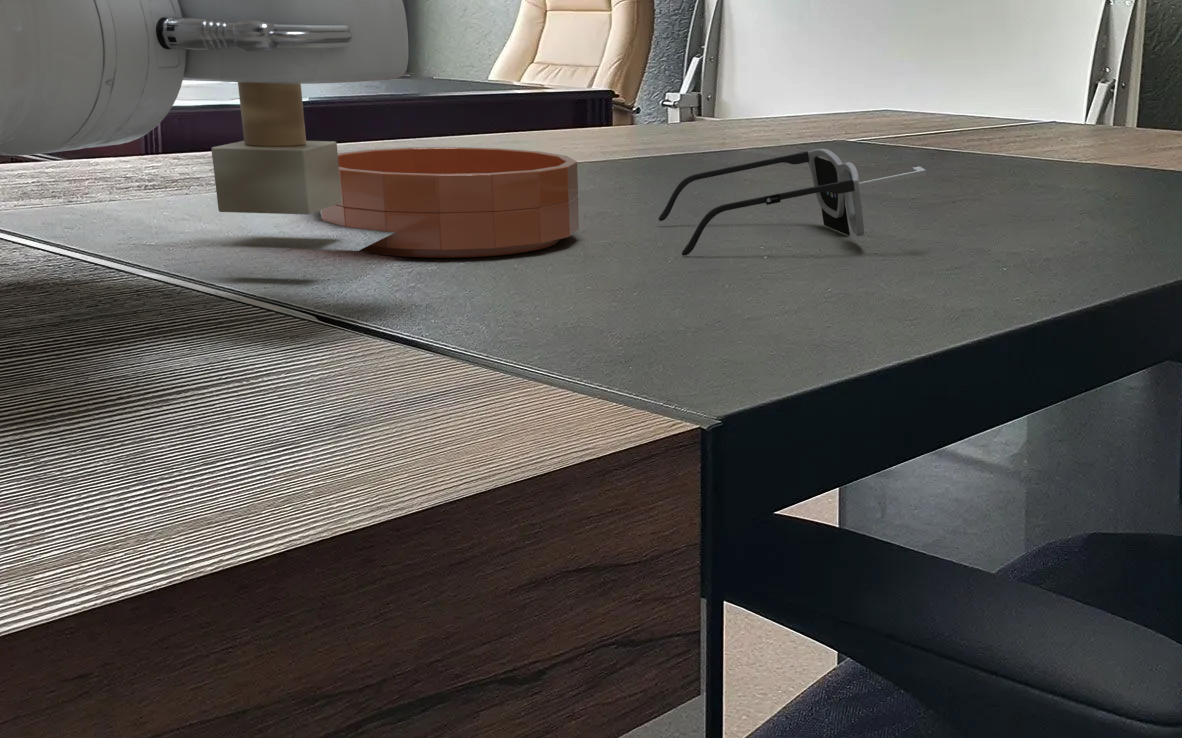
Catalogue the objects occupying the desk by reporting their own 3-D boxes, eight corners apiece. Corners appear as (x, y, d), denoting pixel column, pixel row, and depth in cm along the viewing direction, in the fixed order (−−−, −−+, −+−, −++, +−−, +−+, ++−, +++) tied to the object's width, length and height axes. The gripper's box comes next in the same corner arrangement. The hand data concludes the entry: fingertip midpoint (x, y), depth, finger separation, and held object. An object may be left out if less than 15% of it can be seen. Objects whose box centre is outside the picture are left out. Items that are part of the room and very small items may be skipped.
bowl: (283, 256, 74) (274, 169, 72) (372, 217, 87) (366, 144, 86) (548, 265, 73) (545, 178, 72) (597, 225, 87) (595, 151, 85)
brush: (217, 212, 66) (177, -135, 61) (256, 200, 70) (221, -125, 65) (309, 214, 66) (276, -133, 61) (342, 202, 70) (314, -123, 65)
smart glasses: (937, 246, 79) (927, 158, 77) (691, 298, 77) (674, 209, 75) (882, 210, 90) (871, 132, 88) (664, 255, 88) (649, 176, 86)
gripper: (290, -55, 50) (471, -41, 62) (-170, -62, 54) (84, -47, 67) (307, 126, 52) (478, 105, 64) (-138, 105, 57) (103, 89, 69)
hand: (274, 27), depth 66 cm, fingers closed on brush, 3 cm apart
